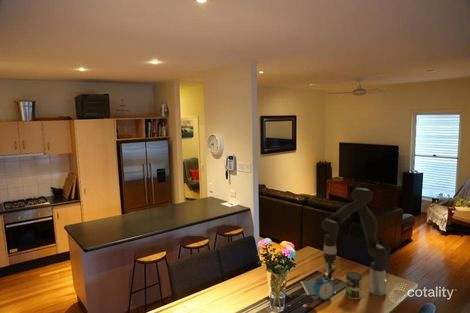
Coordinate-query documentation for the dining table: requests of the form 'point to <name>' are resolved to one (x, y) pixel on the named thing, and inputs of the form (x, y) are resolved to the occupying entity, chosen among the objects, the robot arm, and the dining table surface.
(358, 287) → the coffee can
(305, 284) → the mat
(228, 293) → the dining table surface
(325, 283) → the alarm clock
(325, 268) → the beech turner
